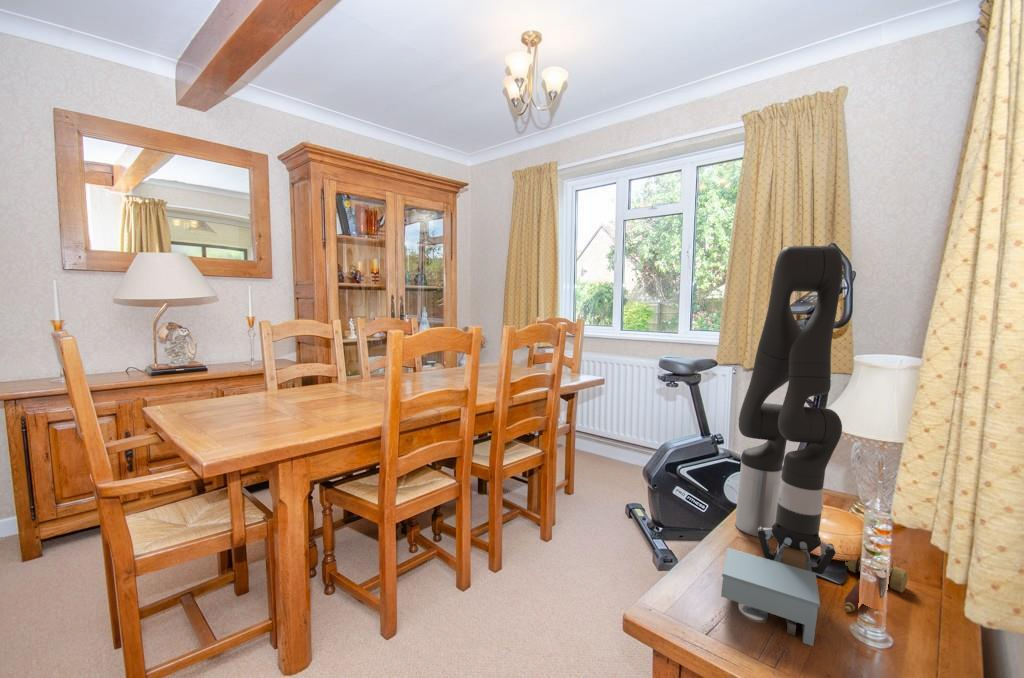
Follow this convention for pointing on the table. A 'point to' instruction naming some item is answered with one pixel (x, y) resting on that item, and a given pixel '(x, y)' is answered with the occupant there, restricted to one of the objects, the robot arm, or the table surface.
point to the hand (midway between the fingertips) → (789, 583)
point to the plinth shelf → (772, 589)
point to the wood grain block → (796, 560)
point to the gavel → (851, 601)
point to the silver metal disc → (752, 613)
